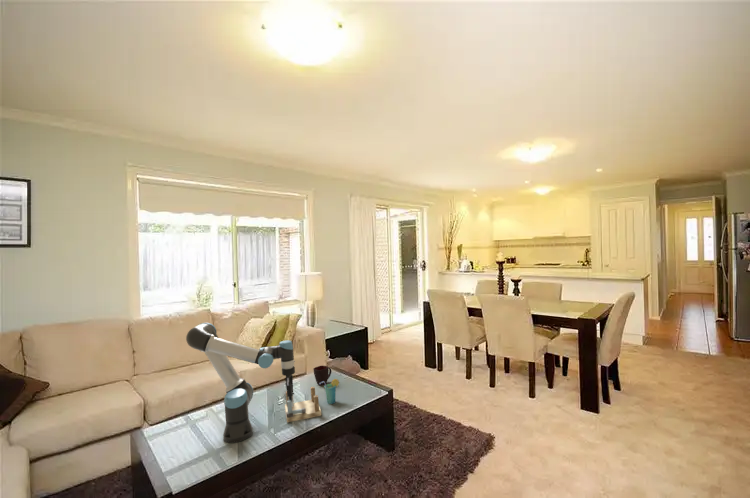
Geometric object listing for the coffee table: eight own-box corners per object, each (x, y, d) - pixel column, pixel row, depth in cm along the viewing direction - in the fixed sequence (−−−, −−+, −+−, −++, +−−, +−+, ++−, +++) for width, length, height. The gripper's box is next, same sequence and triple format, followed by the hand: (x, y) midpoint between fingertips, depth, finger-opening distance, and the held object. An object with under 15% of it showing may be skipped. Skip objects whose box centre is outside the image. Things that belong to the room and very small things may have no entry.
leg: (305, 411, 214) (304, 397, 214) (305, 412, 211) (304, 399, 211) (288, 414, 211) (287, 400, 211) (288, 415, 209) (287, 402, 209)
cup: (323, 408, 223) (322, 383, 223) (317, 404, 229) (315, 380, 229) (342, 400, 232) (340, 377, 232) (336, 397, 238) (334, 375, 238)
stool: (286, 422, 207) (285, 403, 207) (285, 408, 226) (283, 391, 226) (321, 415, 213) (320, 396, 213) (316, 402, 232) (315, 385, 232)
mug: (312, 384, 265) (311, 368, 265) (327, 379, 275) (326, 363, 275) (320, 387, 258) (319, 370, 258) (335, 381, 268) (334, 365, 268)
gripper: (293, 369, 208) (296, 410, 208) (295, 363, 220) (299, 401, 221) (279, 371, 207) (283, 412, 207) (283, 364, 220) (286, 402, 220)
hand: (291, 406), depth 214 cm, fingers closed
